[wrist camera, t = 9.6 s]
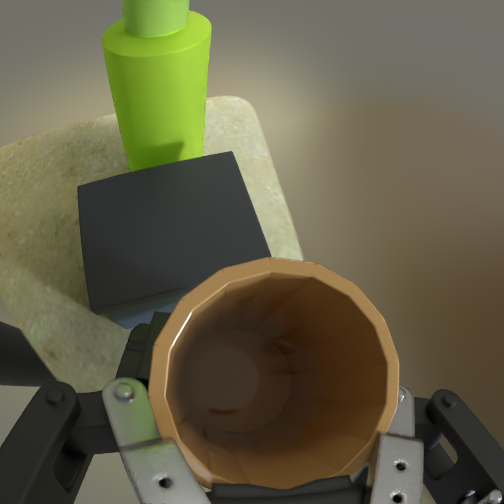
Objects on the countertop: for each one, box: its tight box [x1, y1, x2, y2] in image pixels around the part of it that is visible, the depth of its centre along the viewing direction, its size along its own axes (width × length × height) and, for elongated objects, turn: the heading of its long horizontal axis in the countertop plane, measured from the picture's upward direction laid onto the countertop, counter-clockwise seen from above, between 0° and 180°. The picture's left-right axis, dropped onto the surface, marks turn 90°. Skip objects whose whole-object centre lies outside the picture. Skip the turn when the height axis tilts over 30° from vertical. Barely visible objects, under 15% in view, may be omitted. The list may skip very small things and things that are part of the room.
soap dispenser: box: [102, 0, 212, 172], centre depth 16 cm, size 6×7×20 cm
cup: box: [148, 257, 399, 490], centre depth 11 cm, size 6×6×10 cm
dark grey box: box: [77, 151, 272, 329], centre depth 19 cm, size 9×7×7 cm
